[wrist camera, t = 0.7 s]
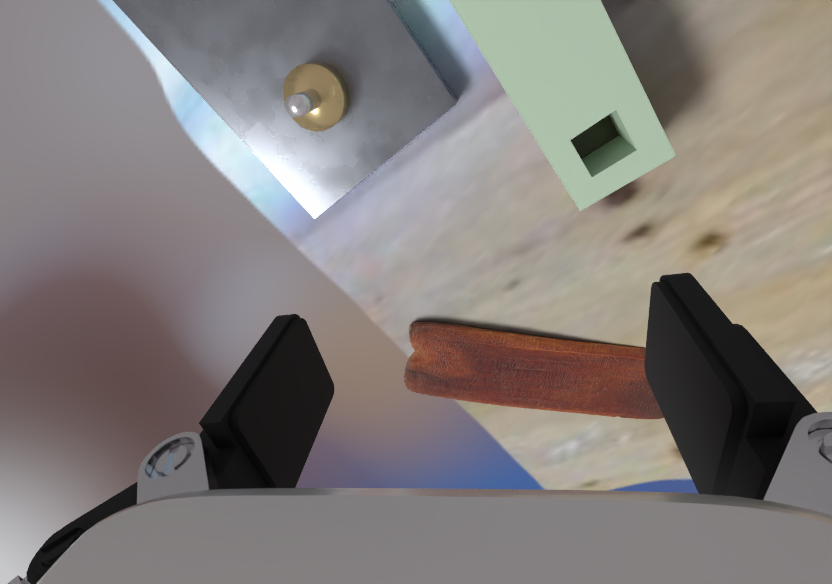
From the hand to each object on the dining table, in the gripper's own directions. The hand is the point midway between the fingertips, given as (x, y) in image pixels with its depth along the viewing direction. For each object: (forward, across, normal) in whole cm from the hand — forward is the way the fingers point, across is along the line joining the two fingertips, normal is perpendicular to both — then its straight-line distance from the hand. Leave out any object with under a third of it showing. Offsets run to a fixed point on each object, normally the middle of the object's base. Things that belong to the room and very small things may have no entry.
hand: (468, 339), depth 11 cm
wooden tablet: (+23, -3, +23) cm, 32 cm away
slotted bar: (+22, -5, -5) cm, 23 cm away
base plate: (+22, +13, -11) cm, 28 cm away
